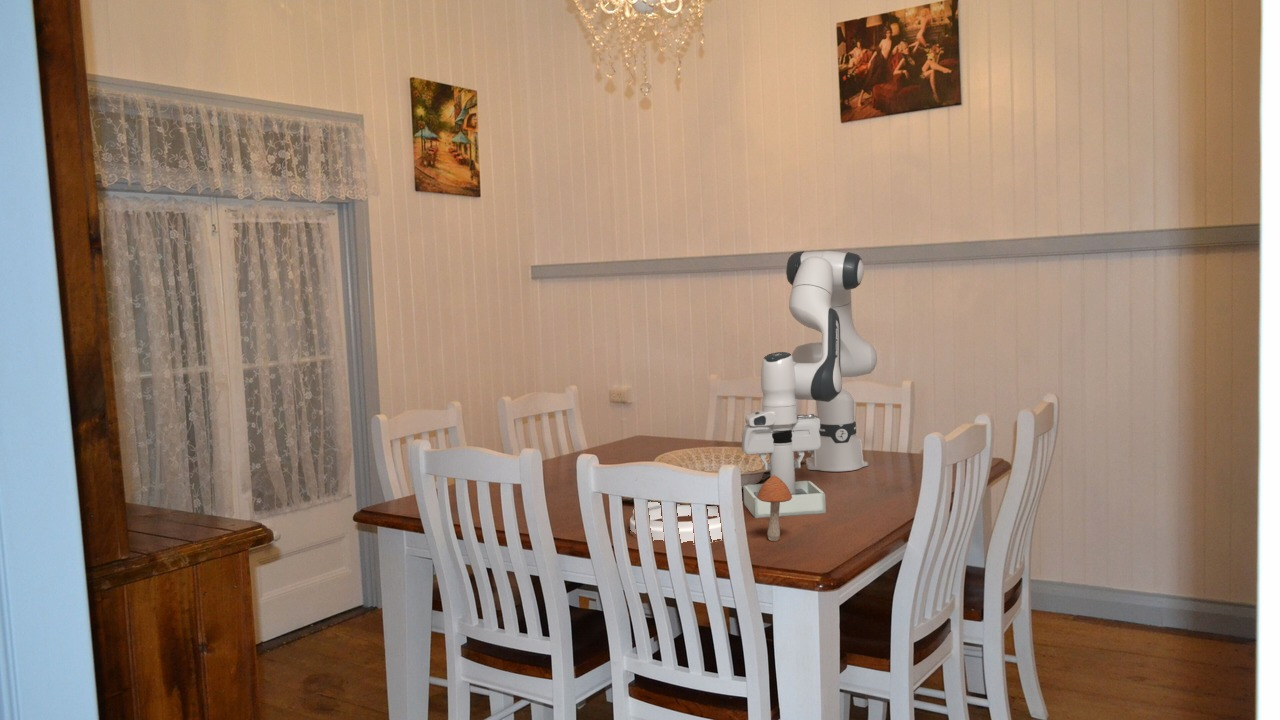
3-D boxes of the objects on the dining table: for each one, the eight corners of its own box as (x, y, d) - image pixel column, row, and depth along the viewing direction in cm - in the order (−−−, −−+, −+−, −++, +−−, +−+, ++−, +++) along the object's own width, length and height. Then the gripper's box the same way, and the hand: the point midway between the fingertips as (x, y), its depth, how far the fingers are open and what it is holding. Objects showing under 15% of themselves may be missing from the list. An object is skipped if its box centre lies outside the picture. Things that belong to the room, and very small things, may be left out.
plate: (615, 526, 237) (614, 504, 237) (713, 511, 246) (712, 491, 246) (654, 552, 212) (652, 528, 212) (761, 535, 221) (760, 512, 221)
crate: (743, 503, 252) (743, 485, 252) (810, 498, 253) (809, 480, 253) (755, 518, 236) (754, 498, 236) (825, 513, 237) (825, 493, 237)
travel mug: (796, 508, 241) (793, 430, 239) (770, 508, 242) (767, 430, 241) (798, 502, 247) (795, 426, 245) (772, 502, 248) (769, 427, 247)
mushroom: (801, 539, 214) (798, 474, 213) (775, 547, 210) (772, 480, 209) (777, 533, 221) (774, 470, 220) (751, 540, 216) (748, 475, 215)
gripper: (816, 411, 247) (818, 464, 248) (739, 416, 245) (741, 469, 246) (823, 415, 240) (825, 468, 241) (743, 420, 239) (745, 474, 240)
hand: (782, 469), depth 244 cm, fingers closed on travel mug, 6 cm apart
